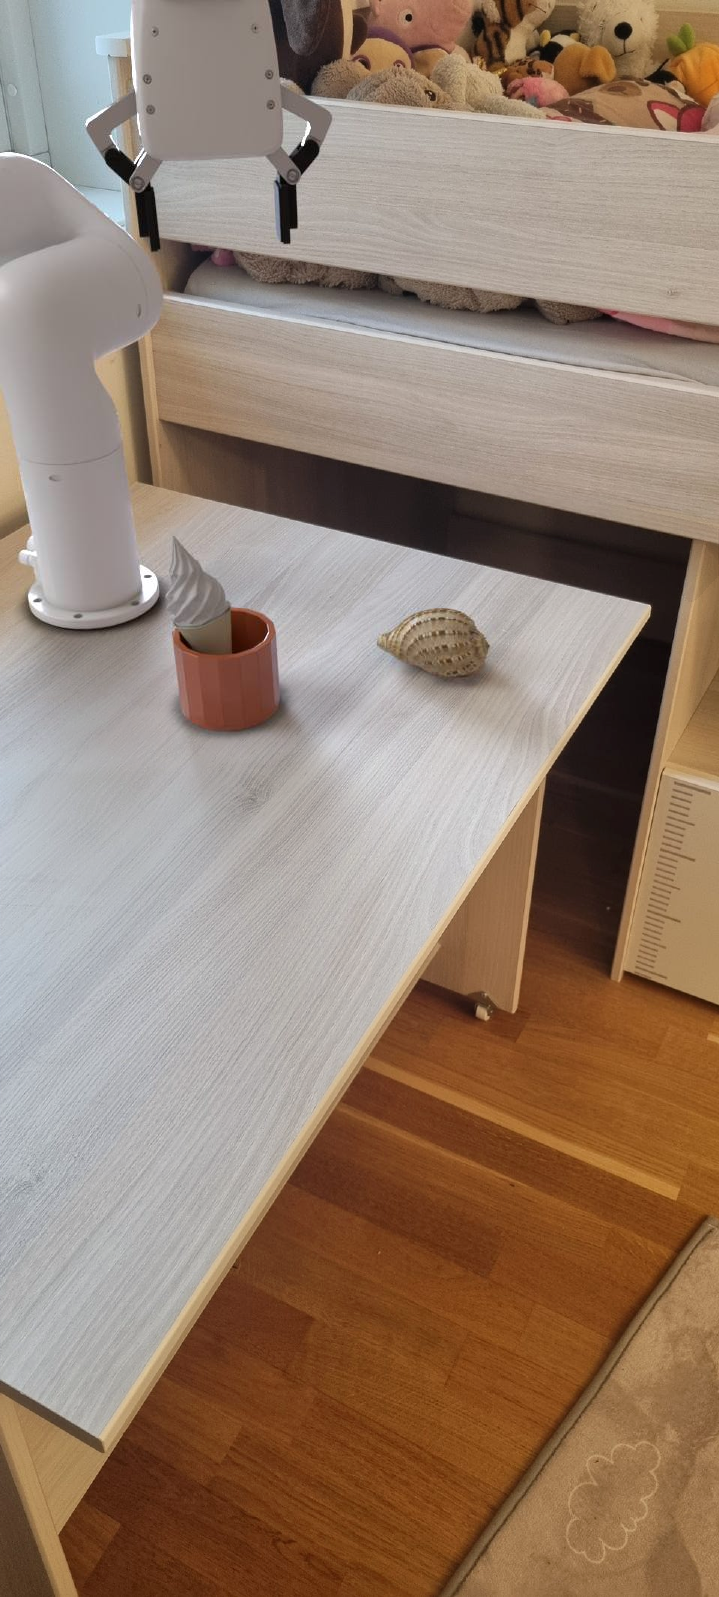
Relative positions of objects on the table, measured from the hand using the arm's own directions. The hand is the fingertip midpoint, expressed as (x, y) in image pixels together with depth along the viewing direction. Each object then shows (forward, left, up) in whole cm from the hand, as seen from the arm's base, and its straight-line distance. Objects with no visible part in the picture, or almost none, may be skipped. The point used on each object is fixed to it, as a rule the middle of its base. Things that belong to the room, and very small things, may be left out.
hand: (219, 243), depth 89 cm
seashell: (+16, +6, -34) cm, 39 cm away
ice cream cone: (+5, -9, -34) cm, 35 cm away
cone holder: (+5, -9, -34) cm, 36 cm away
